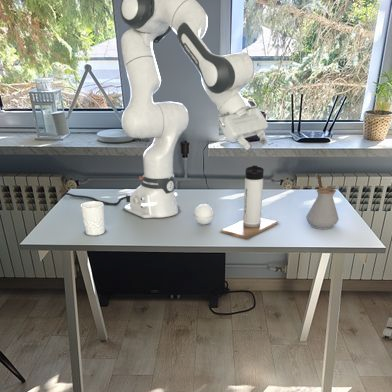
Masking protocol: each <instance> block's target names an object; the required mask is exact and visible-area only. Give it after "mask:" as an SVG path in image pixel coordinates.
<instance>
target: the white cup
mask: <svg viewBox="0 0 392 392" xmlns="http://www.w3.org/2000/svg"><path fill="white" fill-rule="evenodd" d="M80 210H81V216H82V222H83V226H84V231H85V234H86V235H88V236H99V235H103V234H105V232H106V229H105V223H106V222H105V207H104V203H102V202H98V201H94V200H92V201H85V202H82V203H80Z"/></svg>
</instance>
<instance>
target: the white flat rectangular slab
mask: <svg viewBox="0 0 392 392" xmlns="http://www.w3.org/2000/svg"><path fill="white" fill-rule="evenodd" d="M260 221H261V223H260V226H258V227H246V226H244V225H243V219H242V220H239V221H237V222H235V223H233V224H231V225H229V226H226V227H224V228H222V229H221V233H222V234H226V235H230V236H232V237H233V236H234V237H237V238H240V239H244V240H248V239H250V238H252V237H254V236H256V235H259V234H260V233H262V232H264V231H267V230H268V229H270V228H272V227H274V226H276V225H278V223H279V222H278V220H275V219H270V218H267V217H266V218H265V217H262V216H261V220H260Z"/></svg>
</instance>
